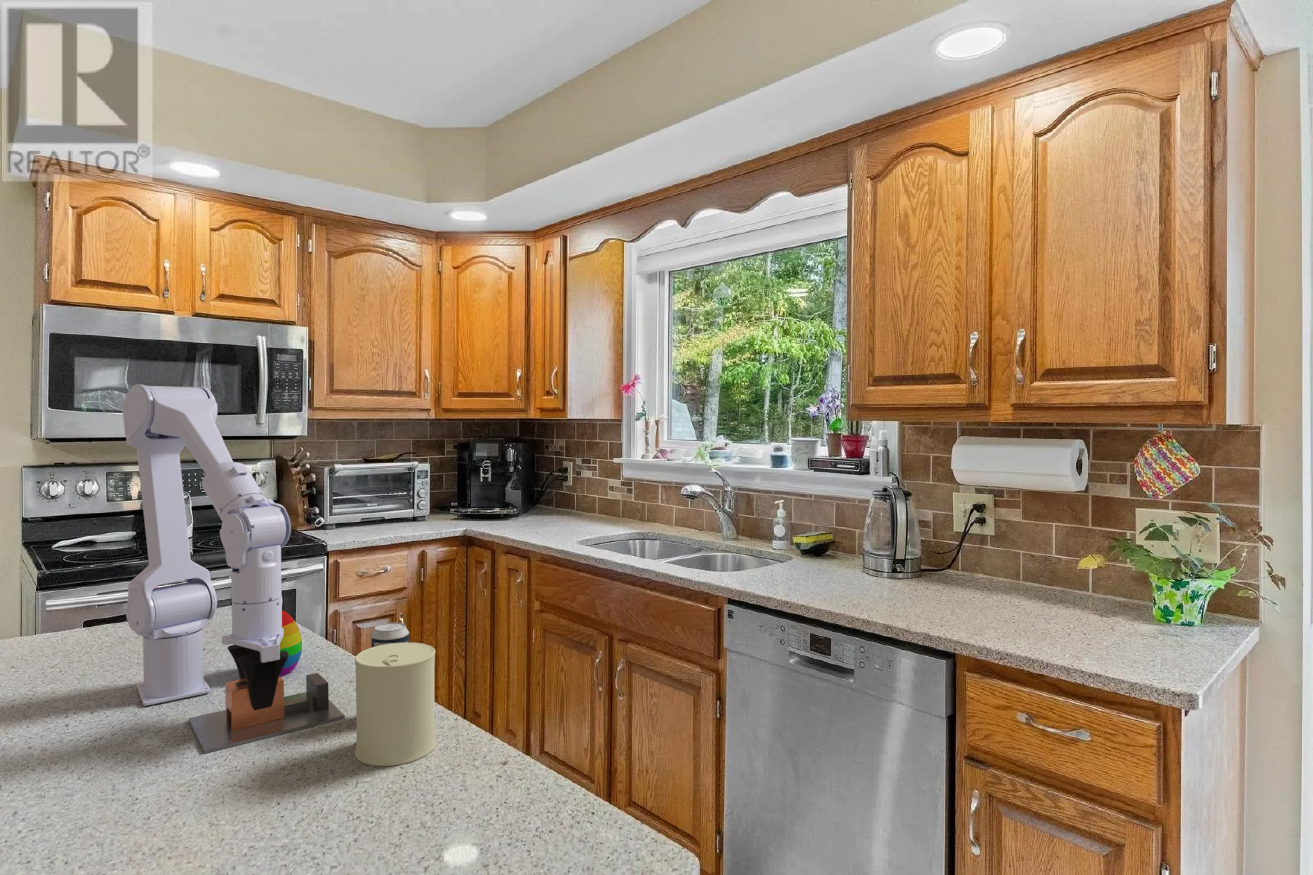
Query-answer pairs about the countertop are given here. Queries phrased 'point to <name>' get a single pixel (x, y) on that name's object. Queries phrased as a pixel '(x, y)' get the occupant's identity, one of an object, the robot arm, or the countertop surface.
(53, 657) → the countertop surface
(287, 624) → the decorative egg
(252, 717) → the orange block
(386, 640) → the beer can
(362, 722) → the can
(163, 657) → the robot arm
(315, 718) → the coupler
